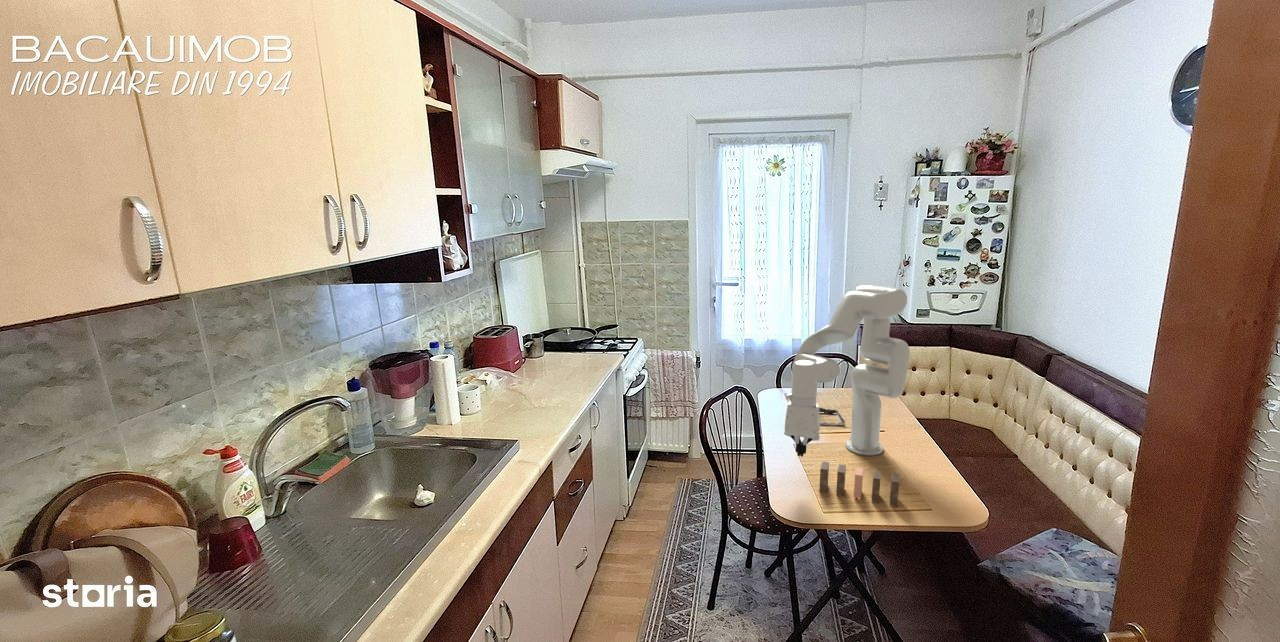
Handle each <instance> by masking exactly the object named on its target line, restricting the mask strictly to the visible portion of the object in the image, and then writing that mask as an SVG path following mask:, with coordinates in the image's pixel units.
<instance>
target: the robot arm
mask: <svg viewBox="0 0 1280 642" xmlns="http://www.w3.org/2000/svg"><path fill="white" fill-rule="evenodd" d="M907 304H908V295H907V293H906V292H905V290H903V289H901V288H898V287H889V286H880V285H870V284H863V285H859V286H857V287H855V289H854V290H852V291H848V292H846V293H845V294H844V295H843V296H842V298H841V300H840V302H839V304H838V306H837V307H836V309H835V311H834V313H833V315H832V317H831V318H830V320H829V322H828V324H827V325H826V326H824V327H823V328H820V329H819V330H817V331H815V332H814V333H813V334H810V335H809V336H808V337H807V338H806V339H805V340H804V341H803V342H802V344H801V345H800V347H799V349H798V351H797V353H796V355H795V357H794V359H793V364H792V368H791V369H792V370H791V390H790V393H788V394H786V395H785V397H786V399H788V400H789V401H788V403H787V408H786V410H785V411H786V412H785V419H784V433H783V435H784V436H787V437H789V438H790V439H792V440H793V442H794V444H795V453H797V455H796V456H797V457H803V456H804V455H805V454H806V453H807V445H808V444H809V443H810V442H813V441H814V442H815V441H819V440H820V439H821V438H820V423H821V419H819V418H820V413H819V408H820V407H819V404H818V403H817V399H818V398H817V397H818V395H817V392H818V384H821V383H822V384H823V383H824V384H825V383H830V382H834V380H836V379H837V378H838V377H839V375H840V371H841V368H840V364H839V363H838V362H837V361H836V360H835V359H832V358H830V357H825V356H820V355H818V354H817V355H816V353H817V352H818V351H819V350H821V349H822V348H823V349H824V347H827V346H830V345H835V344H839V343H840V344H841V343H845V342H848V341H849V340H852V338H853V337H854V335H855V333H856V332H857V329H858V327H859V326H860V324H861V322H862V321H863V324H862V325H863V326H862V334H861V339H860V340H861V341H860V349H859V355H860V356H861V358H862V359H863V360H866V361H868V362H873V363H877V364H881V365H885V366H888V367H887V368H886V367H882V366H878V365H873V364H870V363H869V364H868V363H861V364H858V365H856V366H854V368H853V369H852V370H851V373H850V379H851V380H850V381H851V388H852V410H851V426H850V427H851V429H850V438H849V439H847V440H846V441H845V447H846V448H847V449H848V450H849V451H850V452H852V453H855V454H857V455H863V456H877V455H880V454H882V453H883V451H884V446H883V445H882V444H881V442H880V432H881V417H882V401H881V396H882V397H886V398H888V399H897V398H899V397H900V396H901V395H902V394H903V392H904V390H905V386H906V381H907V374H908V368H909V363H910V354H911V352H910V346H909V345H908V343H907V341H905V340H904V339H903V340H902V339H900V338H895V337H890V329H891V320H890V318H891V317H894V316H897V315H899V314H900V313H902V312H903V311H904V310H905V308H906V307H907ZM801 438H803V440H801Z"/></svg>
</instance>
